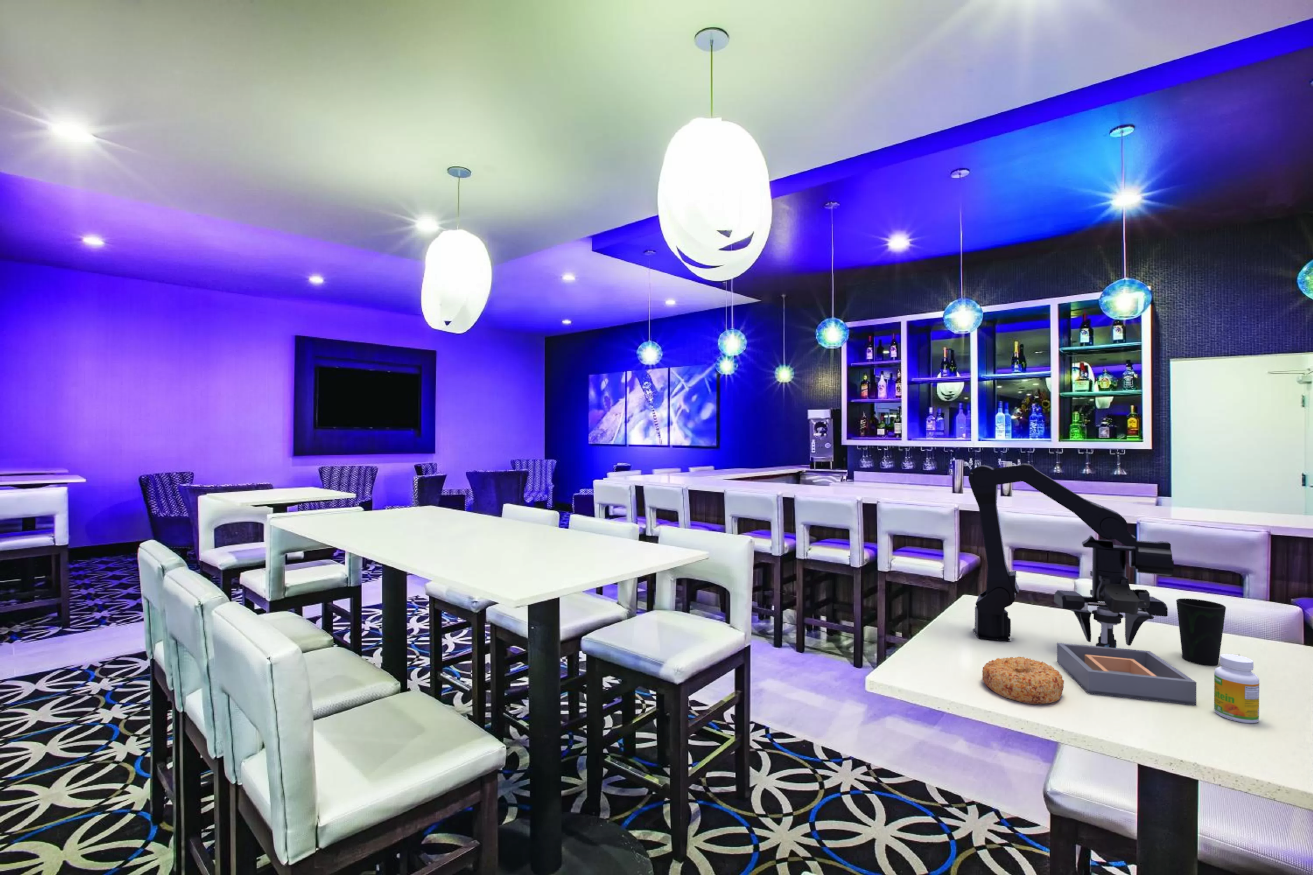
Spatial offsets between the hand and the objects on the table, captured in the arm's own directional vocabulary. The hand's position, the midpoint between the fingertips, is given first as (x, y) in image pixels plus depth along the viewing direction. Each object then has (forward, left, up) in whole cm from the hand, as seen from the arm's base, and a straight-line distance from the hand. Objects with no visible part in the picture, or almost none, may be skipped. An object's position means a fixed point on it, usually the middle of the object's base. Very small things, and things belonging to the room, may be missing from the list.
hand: (1108, 643), depth 128 cm
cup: (+17, +2, -3) cm, 17 cm away
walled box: (-4, -16, -2) cm, 17 cm away
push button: (0, 0, -3) cm, 3 cm away
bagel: (-23, -26, -3) cm, 35 cm away
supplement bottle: (+8, -27, -3) cm, 28 cm away
